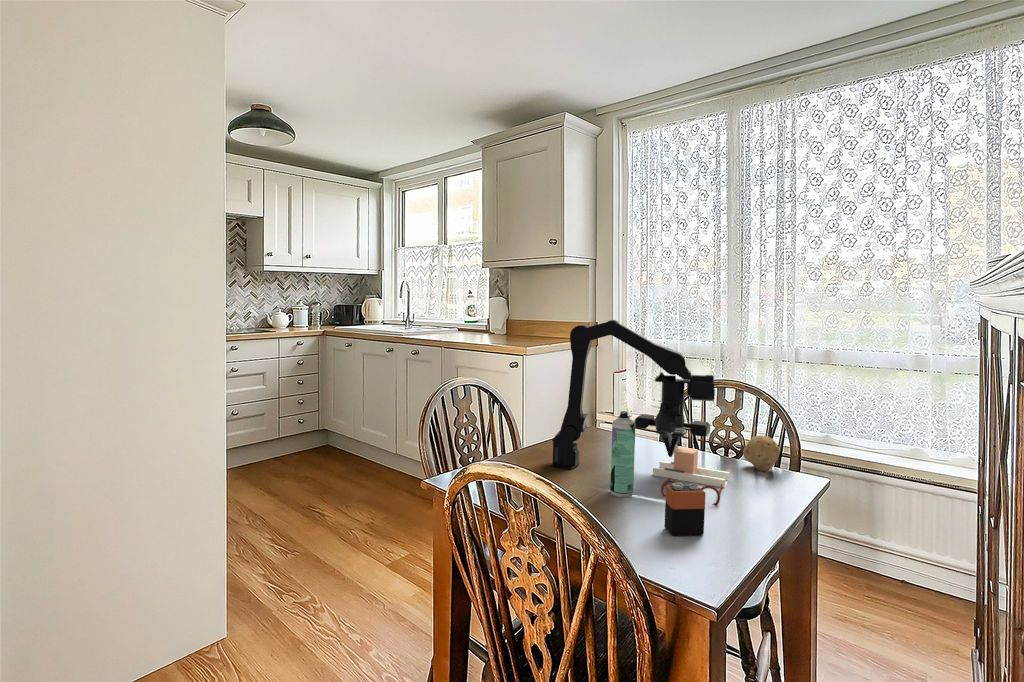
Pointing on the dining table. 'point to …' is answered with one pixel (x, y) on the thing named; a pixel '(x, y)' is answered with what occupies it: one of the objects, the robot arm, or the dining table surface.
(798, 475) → the dining table surface
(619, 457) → the spray can
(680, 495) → the battery
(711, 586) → the dining table surface
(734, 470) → the dining table surface
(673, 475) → the chute
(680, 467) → the block
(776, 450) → the natural sponge
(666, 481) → the glasses
